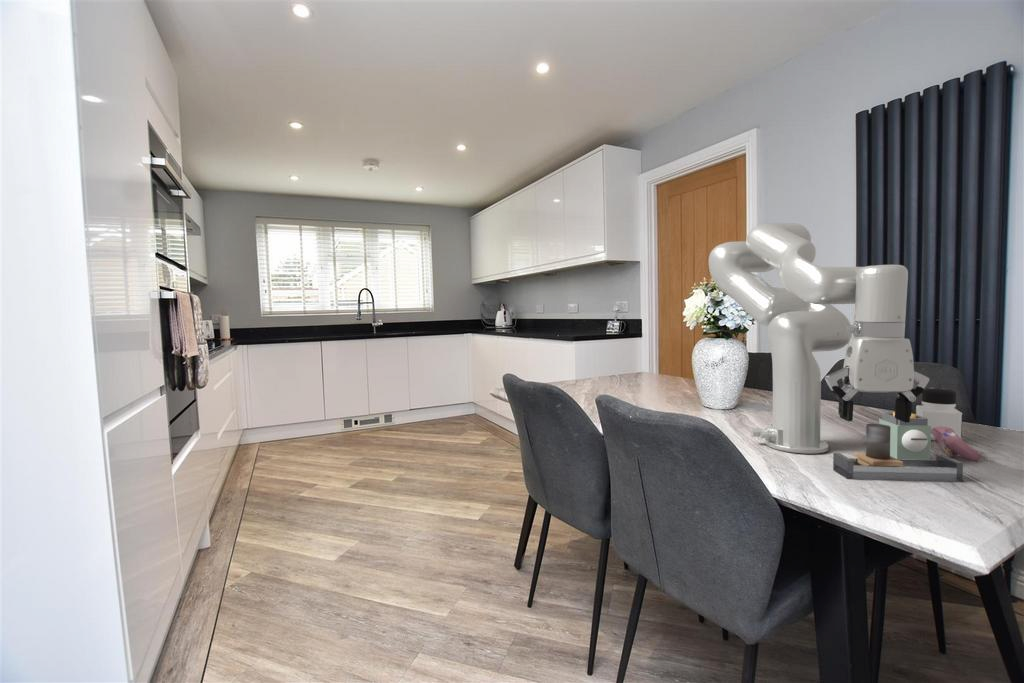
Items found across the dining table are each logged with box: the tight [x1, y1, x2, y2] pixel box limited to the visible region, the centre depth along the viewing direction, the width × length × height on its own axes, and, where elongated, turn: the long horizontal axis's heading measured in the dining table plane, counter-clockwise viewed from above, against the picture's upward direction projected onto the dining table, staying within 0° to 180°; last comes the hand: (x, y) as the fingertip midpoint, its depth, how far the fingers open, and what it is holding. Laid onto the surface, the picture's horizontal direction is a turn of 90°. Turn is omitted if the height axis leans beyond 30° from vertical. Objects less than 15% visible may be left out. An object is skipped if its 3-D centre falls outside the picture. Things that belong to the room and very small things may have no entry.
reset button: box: [892, 411, 916, 418], centre depth 96 cm, size 4×4×2 cm
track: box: [832, 452, 964, 483], centre depth 87 cm, size 19×5×4 cm, turn 81°
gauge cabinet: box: [878, 412, 932, 460], centre depth 96 cm, size 6×7×9 cm
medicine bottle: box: [915, 387, 963, 441], centre depth 112 cm, size 7×7×12 cm
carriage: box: [853, 423, 903, 466], centre depth 88 cm, size 5×6×8 cm
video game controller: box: [931, 426, 981, 462], centre depth 99 cm, size 10×5×7 cm, turn 155°
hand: (873, 420), depth 88 cm, fingers open, 9 cm apart
